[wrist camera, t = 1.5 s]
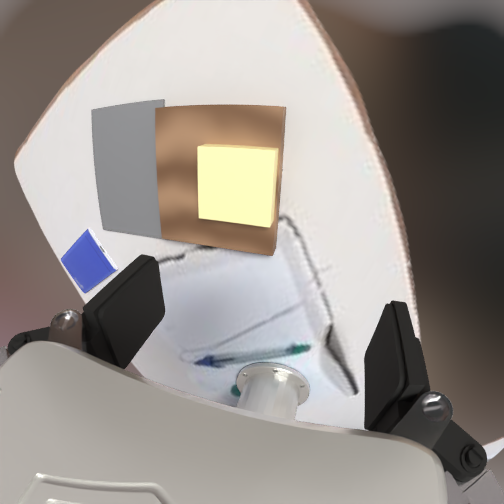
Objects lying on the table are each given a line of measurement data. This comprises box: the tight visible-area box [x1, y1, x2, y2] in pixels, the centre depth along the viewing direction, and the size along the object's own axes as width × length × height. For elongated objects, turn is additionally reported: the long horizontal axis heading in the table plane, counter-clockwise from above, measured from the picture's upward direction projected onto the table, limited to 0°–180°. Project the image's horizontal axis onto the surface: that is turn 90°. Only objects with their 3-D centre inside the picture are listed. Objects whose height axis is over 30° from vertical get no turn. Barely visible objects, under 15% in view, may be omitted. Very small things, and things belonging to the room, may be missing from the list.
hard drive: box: [61, 228, 118, 293], centre depth 44 cm, size 2×8×12 cm
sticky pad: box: [198, 144, 279, 228], centre depth 28 cm, size 8×8×2 cm
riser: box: [155, 105, 286, 256], centre depth 31 cm, size 16×14×2 cm
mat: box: [92, 99, 169, 240], centre depth 34 cm, size 18×12×1 cm, turn 179°
